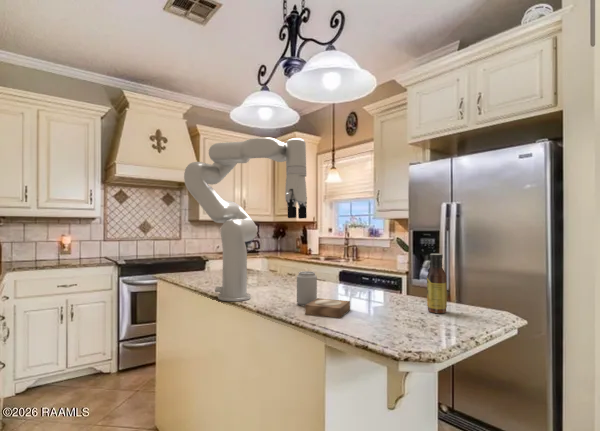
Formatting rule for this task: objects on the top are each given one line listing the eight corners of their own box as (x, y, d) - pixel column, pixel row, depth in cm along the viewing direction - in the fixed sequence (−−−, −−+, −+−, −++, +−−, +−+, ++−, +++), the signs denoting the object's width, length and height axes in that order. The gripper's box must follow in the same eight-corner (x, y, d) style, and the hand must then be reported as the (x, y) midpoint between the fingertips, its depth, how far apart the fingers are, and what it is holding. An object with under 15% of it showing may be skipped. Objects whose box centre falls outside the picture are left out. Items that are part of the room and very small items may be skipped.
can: (314, 307, 132) (315, 273, 132) (294, 306, 134) (294, 272, 134) (318, 302, 140) (318, 270, 140) (298, 301, 141) (299, 270, 141)
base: (305, 314, 122) (305, 304, 122) (317, 306, 133) (317, 297, 133) (340, 317, 117) (340, 307, 117) (349, 309, 128) (349, 300, 128)
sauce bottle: (432, 309, 130) (432, 252, 131) (449, 312, 126) (449, 253, 126) (423, 312, 126) (423, 253, 126) (441, 315, 121) (441, 254, 122)
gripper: (296, 176, 147) (297, 218, 147) (277, 170, 131) (278, 218, 131) (313, 174, 144) (315, 218, 144) (296, 168, 129) (297, 217, 128)
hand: (297, 218), depth 137 cm, fingers open, 9 cm apart
